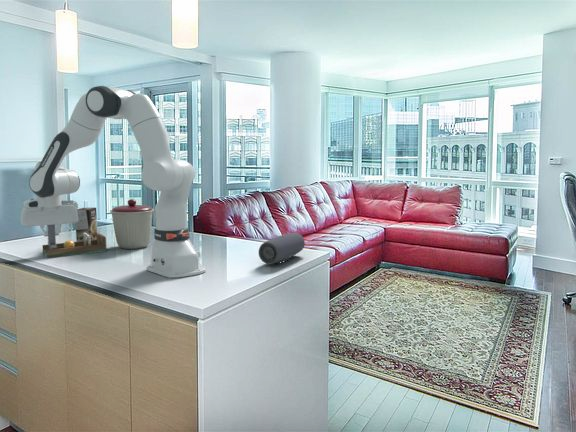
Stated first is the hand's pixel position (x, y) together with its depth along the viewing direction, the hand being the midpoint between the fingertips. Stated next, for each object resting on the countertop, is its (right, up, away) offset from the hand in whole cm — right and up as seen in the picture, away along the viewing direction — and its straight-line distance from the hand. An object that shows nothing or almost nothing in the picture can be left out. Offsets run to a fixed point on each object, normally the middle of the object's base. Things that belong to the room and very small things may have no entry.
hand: (51, 235), depth 178 cm
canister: (+28, -6, +16) cm, 33 cm away
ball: (+5, -4, +4) cm, 8 cm away
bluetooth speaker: (+93, -10, -6) cm, 94 cm away
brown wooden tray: (+7, -7, +6) cm, 11 cm away
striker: (0, -6, +1) cm, 6 cm away
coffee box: (+5, -5, +22) cm, 23 cm away
